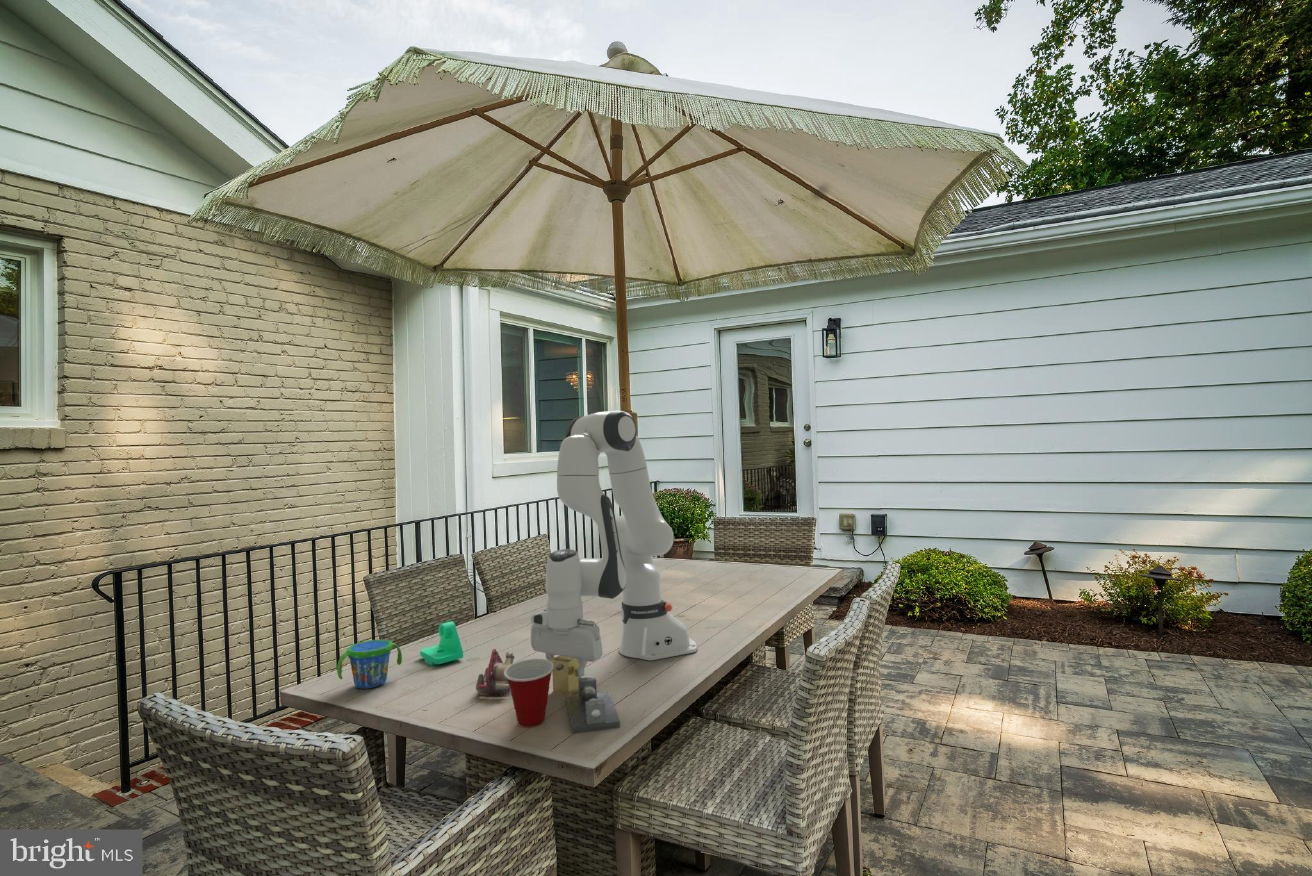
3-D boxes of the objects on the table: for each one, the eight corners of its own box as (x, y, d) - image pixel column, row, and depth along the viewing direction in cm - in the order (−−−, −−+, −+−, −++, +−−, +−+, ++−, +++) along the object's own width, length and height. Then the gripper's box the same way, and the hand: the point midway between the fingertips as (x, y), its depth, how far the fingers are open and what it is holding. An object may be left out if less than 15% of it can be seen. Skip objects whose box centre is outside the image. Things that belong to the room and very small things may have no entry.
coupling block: (568, 684, 160) (567, 652, 160) (583, 687, 157) (582, 655, 158) (550, 693, 154) (549, 660, 155) (566, 697, 152) (565, 663, 152)
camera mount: (419, 659, 184) (417, 623, 184) (444, 652, 189) (442, 618, 189) (437, 668, 175) (436, 631, 175) (463, 661, 181) (462, 625, 181)
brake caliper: (478, 673, 163) (503, 638, 162) (510, 698, 162) (535, 663, 161) (461, 690, 152) (487, 652, 152) (495, 717, 151) (522, 679, 151)
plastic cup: (495, 729, 136) (493, 673, 136) (523, 709, 146) (521, 656, 146) (539, 736, 132) (537, 678, 132) (564, 714, 142) (562, 660, 142)
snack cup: (397, 671, 173) (396, 634, 173) (407, 682, 165) (406, 643, 165) (334, 686, 164) (332, 647, 164) (341, 698, 156) (340, 657, 156)
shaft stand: (608, 696, 151) (607, 674, 151) (620, 727, 135) (619, 702, 135) (565, 701, 149) (565, 679, 149) (572, 733, 132) (571, 708, 132)
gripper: (606, 618, 153) (608, 676, 153) (543, 609, 164) (544, 663, 164) (590, 625, 148) (592, 685, 148) (525, 615, 159) (527, 670, 159)
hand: (566, 673), depth 156 cm, fingers open, 7 cm apart
